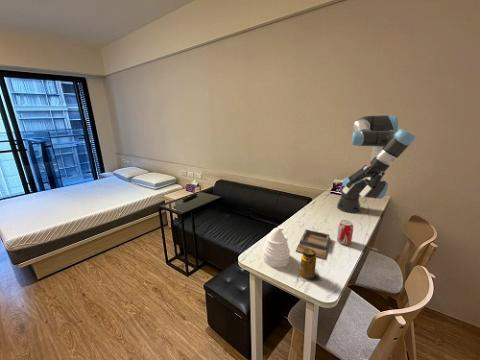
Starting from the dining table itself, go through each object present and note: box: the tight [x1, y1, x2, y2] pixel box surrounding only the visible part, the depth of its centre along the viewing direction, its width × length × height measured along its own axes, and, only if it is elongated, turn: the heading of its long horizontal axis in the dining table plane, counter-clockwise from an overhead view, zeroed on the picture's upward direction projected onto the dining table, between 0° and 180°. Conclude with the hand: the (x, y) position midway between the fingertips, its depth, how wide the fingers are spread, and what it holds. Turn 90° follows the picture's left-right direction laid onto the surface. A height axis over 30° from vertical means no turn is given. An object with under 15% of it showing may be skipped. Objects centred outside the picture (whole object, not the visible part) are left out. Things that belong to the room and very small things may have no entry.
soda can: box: [336, 219, 354, 246], centre depth 119 cm, size 7×7×12 cm
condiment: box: [297, 249, 323, 282], centre depth 96 cm, size 7×8×12 cm
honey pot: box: [262, 225, 291, 269], centre depth 106 cm, size 13×13×18 cm
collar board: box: [295, 229, 331, 260], centre depth 119 cm, size 20×14×4 cm
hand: (352, 194), depth 115 cm, fingers open, 13 cm apart
